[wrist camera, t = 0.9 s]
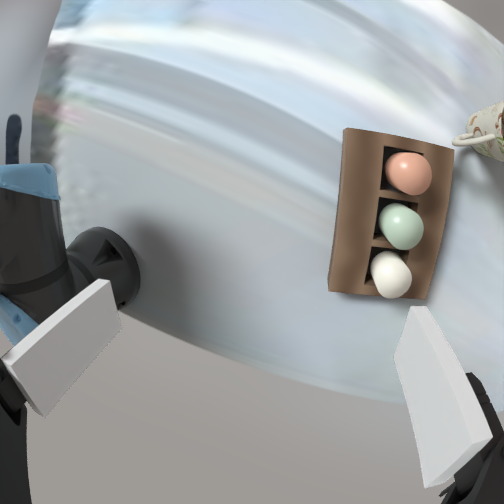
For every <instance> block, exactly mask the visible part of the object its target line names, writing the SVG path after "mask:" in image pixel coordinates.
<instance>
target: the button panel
mask: <svg viewBox="0 0 504 504" xmlns="http://www.w3.org/2000/svg"><path fill="white" fill-rule="evenodd" d="M384 147H387V148H393V149H398V150H403V151H408V152H413V153H416V154H419V155H421V156H423V157H424V158H425V159H426V160H427V161H428V163H429V165H430V167H431V171H432V180H431V183H430V186H429V187H428V189H427V190H426V191H425V192H424V193H422V194H420V195H409V194H407V193H405V192H403V191H401V190H396V189H389V188H383V187H380V184H381V174H382V163H383V150H384ZM453 162H454V149H450V148H447V147H443V146H439V145H435V144H431V143H427V142H423V141H419V140H415V139H410V138H405V137H401V136H396V135H390V134H385V133H379V132H373V131H367V130H361V129H354V128H346V129H344V130H343V144H342V160H341V173H340V185H339V195H338V205H337V214H336V222H335V231H334V238H333V246H332V253H331V260H330V266H329V273H328V279H327V280H328V289H329V291H331V292H341V293H351V294H362V295H374V296H382V295H381V294H380V293H379V292H378V289H377V287H376V285H375V282H374V280H373V278H372V275H371V274H366V272H367V267H368V262H369V257H370V252H371V246H375V247H384V248H392V249H397V248H395V247H394V246H393V245H392V244H391V243H390V242H389V240H388V239H387V238H386V237H385V235H384V234H383V233H376V232H374V228H375V222H376V215H377V208H378V201H379V197H384V198H391V199H397V200H403V201H408V208H409V209H411V210H412V211H414V212H415V213H417V214H418V215H419V216H420V218H421V219H422V222H423V226H424V231H423V236H422V238H421V240H420V241H419V243H418V244H417V245H416V246H414V247H413V248H411V249H408V250H400V252H399V256H400V258H401V259H402V260H403V262H404V263H405V264H406V266H407V267H408V268H409V270H410V272H411V275H412V282H411V285H410V287H409V289H408V290H407V291H406V292H405V293H404V294H403V295H402V296H400V297H398V298H412V299H425V298H426V295H427V292H428V289H429V286H430V282H431V279H432V275H433V272H434V268H435V264H436V261H437V257H438V253H439V249H440V244H441V240H442V235H443V230H444V226H445V220H446V215H447V209H448V203H449V196H450V189H451V181H452V173H453Z"/></svg>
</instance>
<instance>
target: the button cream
mask: <svg viewBox="0 0 504 504" xmlns="http://www.w3.org/2000/svg"><path fill="white" fill-rule="evenodd" d="M370 272H371V275H372V278H373V280H374V282H375V285H376V287H377V289H378V292H379V293H380V294H381V295H382V296H384V297H386V298H397V297H400V296H402V295H403V294H404V293H405V292H406V291H407V290H408V289H409V287H410V285H411V282H412V275H411V272H410V270H409V268H408V267H407V266H406V264H405V263H404V262H403V260H402V259H401V258H400V256H399V255H398V254H397V253H395V252H393V251H383V252H381V253H379V254H378V255H376V256H375V257H374V259H373V260H372V262H371V265H370Z"/></svg>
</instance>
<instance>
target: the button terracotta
mask: <svg viewBox="0 0 504 504" xmlns="http://www.w3.org/2000/svg"><path fill="white" fill-rule="evenodd" d="M385 175H386V178H387V180H388V182H389V183H390V184H391V185H392V186H393V187H395V188H396V189H399V190H401V191H403V192H405V193H407V194H409V195H420V194H422V193H424V192H425V191H426V190H427V189H428V187H429V186H430V183H431V180H432V171H431V167H430V165H429V163H428V161H427V160H426V159H425V158H424V157H423V156H421V155H419V154H416V153H405V152H398V153H395V154H393V155H391V156H390V157H389V159H388V160H387V162H386V165H385Z"/></svg>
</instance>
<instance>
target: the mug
mask: <svg viewBox="0 0 504 504" xmlns="http://www.w3.org/2000/svg"><path fill="white" fill-rule="evenodd" d="M466 132H467V134H463V135H459V136H456V137H455V138H454V139H453V140H452V144H453V145H454V146H470V145H471V146H472V147H473V148H474V149H475V150H476V151H477V152H478V153H480V154H483V155H485V156H488V157H491V158H493V159H496V160H499V161H501V162H504V101H502V102H500V103H497V104H495V105H492V106H490V107H487V108H485V109H483V110H480V111H478V112H476V113H474V114H472V115H471V116H470V117H469V119H468V121H467V125H466Z"/></svg>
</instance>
